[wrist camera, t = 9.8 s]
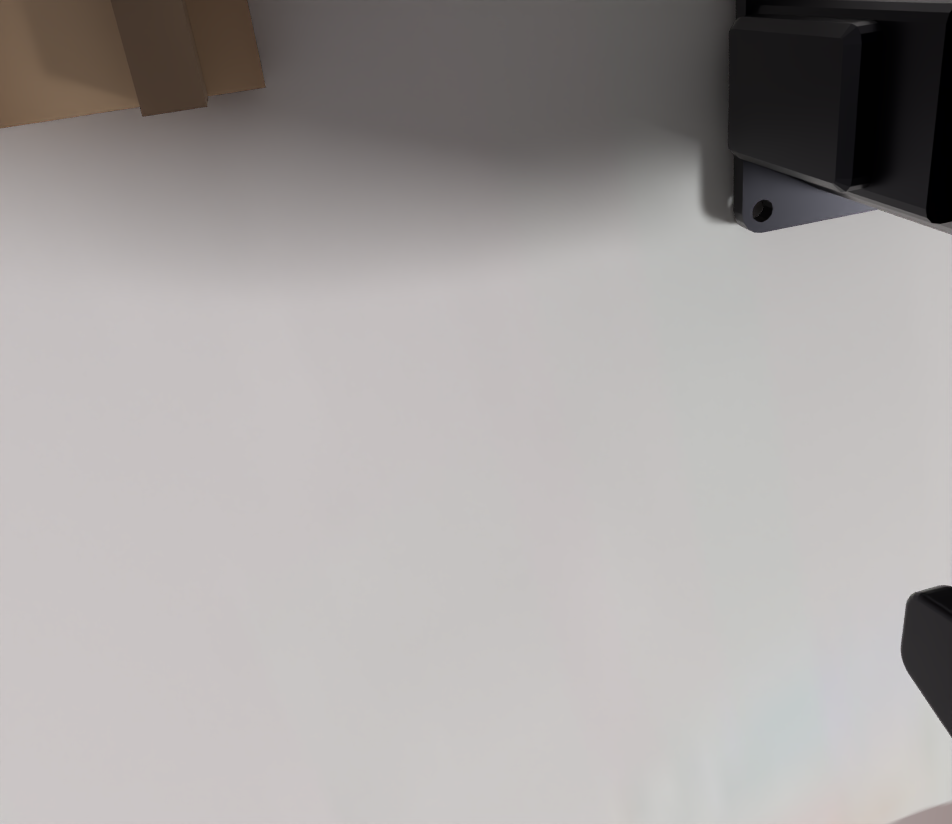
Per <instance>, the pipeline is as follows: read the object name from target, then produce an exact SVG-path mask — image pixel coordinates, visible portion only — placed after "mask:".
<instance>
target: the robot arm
mask: <svg viewBox="0 0 952 824" xmlns="http://www.w3.org/2000/svg"><path fill="white" fill-rule="evenodd" d="M728 147H729V149H730V150H731V151H732V152H733V153H734V216H735V220H736V221H737V223H738V224H739V225H740V226H742V227H744V228H746V229H748V230H750V231H752V232H757V233H762V232H767V231H772V230H777V229H782V228H787V227H792V226H797V225H802V224H807V223H812V222H817V221H822V220H827V219H832V218H837V217H842V216H847V215H852V214H857V213H862V212H867V211H872V210H877V209H879V210H881V211H884V212H887V213H890V214H893V215H896V216H899V217H902V218H905V219H908V220H911V221H914V222H917V223H919V224H922V225H925V226H928V227H931V228H934V229H937V230H940V231H943V232H946V233H949V234H952V0H736V21H735V23H734V24H733V26H732V27H731V29H730V31H729V107H728ZM761 200H763V204H764V206H763V210H762V212H761V213H760V214H759V216H757V217H755V218H753V214H752V212H753V208H754V206H755V205H756V203H757V202H759V201H761ZM901 656H902V660H903V663H904V666H905V668H906V670H907V672H908V673H909V675H910V676H911V678H912V679H913V681H914V682H915V684H916V685H917V687H918V688H919V690H920V691H921V693H922V694H923V696H924V697H925V699H926V700H927V702H928V703H929V705H930V706H931V708H932V709H933V711H934V712H935V714H936V715H937V717H938V718H939V720H940V721H941V723H942V724H943V725H944V727H945V728H946V730H947V731H948V733H949V734H950V736H951V737H952V587H951V586H946V585H941V586H936V587H933V588H929V589H925V590H922V591H918V592H915V593H913V594H912V595H911V596H910V597H909V599H908V600H907V603H906V609H905V617H904V625H903V633H902V641H901Z"/></svg>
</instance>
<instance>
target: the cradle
mask: <svg viewBox="0 0 952 824" xmlns="http://www.w3.org/2000/svg"><path fill="white" fill-rule="evenodd" d="M265 87H266V86H265V81H264V77H263V72H262V67H261V63H260V58H259V53H258V49H257V44H256V39H255V34H254V30H253V25H252V20H251V16H250V11H249V6H248V2H247V0H0V128H6V127H12V126H19V125H25V124H32V123H38V122H45V121H51V120H58V119H64V118H71V117H77V116H84V115H90V114H96V113H103V112H109V111H116V110H122V109H129V108H135V107H140V109H141V113H142V116H143V117H144V116H150V115H156V114H163V113H169V112H176V111H182V110H188V109H195V108H201V107H207V102H208V96H213V95H220V94H226V93H233V92H239V91H246V90H252V89H259V88H265Z"/></svg>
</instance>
